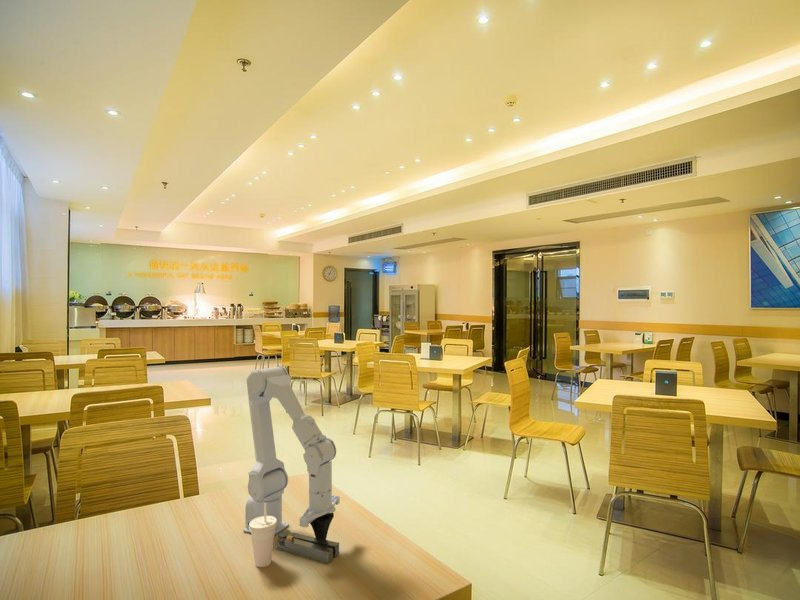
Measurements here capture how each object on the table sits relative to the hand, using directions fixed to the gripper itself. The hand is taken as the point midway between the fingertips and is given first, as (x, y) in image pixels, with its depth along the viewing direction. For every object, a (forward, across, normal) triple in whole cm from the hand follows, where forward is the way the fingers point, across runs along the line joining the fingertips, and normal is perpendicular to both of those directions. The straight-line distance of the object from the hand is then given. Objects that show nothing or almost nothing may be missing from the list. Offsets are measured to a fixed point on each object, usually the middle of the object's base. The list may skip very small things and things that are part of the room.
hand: (320, 543), depth 112 cm
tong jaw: (+1, -2, +3) cm, 3 cm away
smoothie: (+1, -11, +9) cm, 14 cm away
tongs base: (+1, -3, +3) cm, 4 cm away
